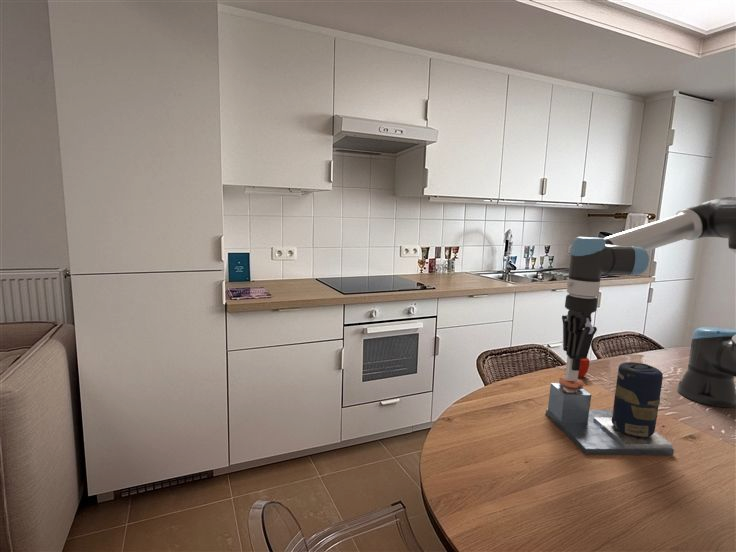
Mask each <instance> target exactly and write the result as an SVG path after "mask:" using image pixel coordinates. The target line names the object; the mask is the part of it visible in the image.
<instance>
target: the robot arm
mask: <svg viewBox="0 0 736 552" xmlns="http://www.w3.org/2000/svg"><path fill="white" fill-rule="evenodd" d="M702 238H723V239H728V249H729V250H730V251H732V252H733V253H735V254H736V196H735V197H733V196H731V197H730V196H729V197H720V198H716V199H710V200H708V201H705V202H702V203H698V204H695V205H692V206H689V207H687V208H686V207H685V208H683V209H680V210H678V211H676V213H675V214H674V215H672V216H669V217H665V218H663V219H659V220H656V221H652V222H650V223H646V224H644V225H643V224H642V225H640V226H638V227H634V228H631V229H627V230H625V231H622V232H617V233H615V234H612V235H609V236H606V237H592V236H591V237H590V236H577V237H575V238H573V242H572V245H571V249H570V253H569V257H570V258H569V259H570V261H569V270H568V276H567V277H568V279H567V283H566V286H567V287H566V293H567V295H565V301H564V307H565V309H567V310H568V311H567V314H566V315H564V314H563V315H562V316H561V319H562V321H561V322H562V345H563V347H562V349H563V351H564V352H566V353H565V354H566V356H567V358H566V368H565V375H564V376H565V379H566V380H567V381H577V380H578V379H579V377H578V373H579V367H580V360H581V359H586V358H588V355H589V351H590V349H591V345H592V342H593V339H594V335H595V334H596V333H597V331H598V329H597V327H596V326H593V325H592V314H593V313H595V312H596V311H597V308H598V298H597V297H598V296H600V295H599V294H600V284H601V278H602V275H623V276H624V275H625V276H633V275H635V276H636V275H642V274H643V273H644V272H645V271H646V270H647V269H648V267H649V261H650V256H649V253H648V252H647V251H652V250H655V249H657V248H660V247H663V246H667V245H669V244H673V243H677V242H679V241H682V240H687V241H695V240H697V239H702ZM690 343H691V345H690V351H689V357H688V359H689V360H688V365H687V370H686V371H685V373H684V375H683V376H682V379H681V380H680V381H679V382H678V385H677V392H678V393H679V394H680V395H681V396H682V397H685V398H687V399H689V400H691V401H694V402H697V403H700V404H704V405H709V406H711V407H712V406H713V407H717V408H718V407H719V408H734V407H736V385H735V378H736V329H730V328H723V327H721V328H720V327H713V326H712V327H709V326H702V327H697V328H695V330H694V332H693V335H692V337H691V342H690Z"/></svg>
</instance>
